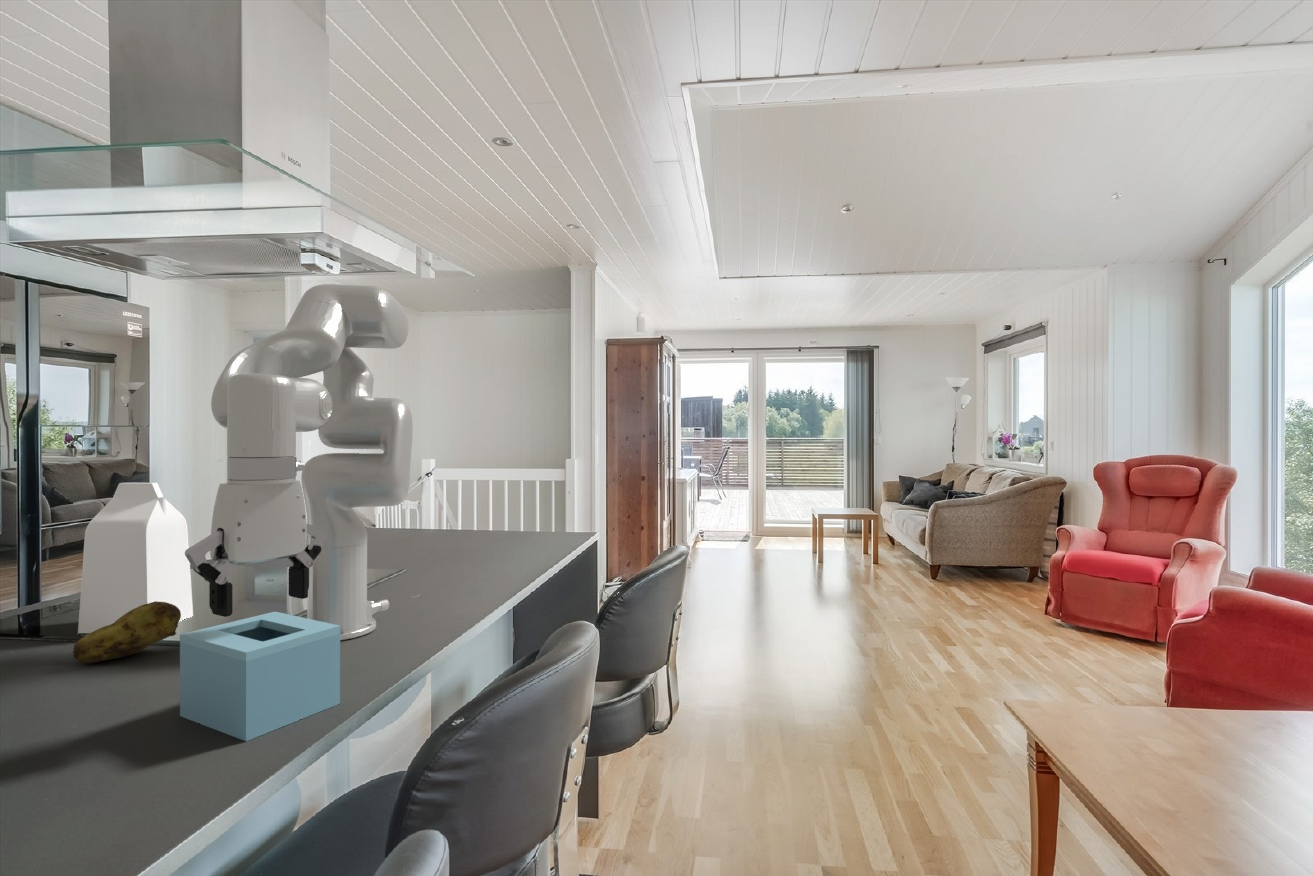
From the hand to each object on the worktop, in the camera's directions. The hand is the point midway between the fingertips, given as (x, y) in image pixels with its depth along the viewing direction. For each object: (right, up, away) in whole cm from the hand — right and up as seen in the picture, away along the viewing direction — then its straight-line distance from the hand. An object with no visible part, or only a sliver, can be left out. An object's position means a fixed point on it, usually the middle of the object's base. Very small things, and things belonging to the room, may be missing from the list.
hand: (262, 605), depth 84 cm
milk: (-44, -13, +36) cm, 59 cm away
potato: (-33, -13, +20) cm, 40 cm away
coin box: (0, -13, 0) cm, 13 cm away
